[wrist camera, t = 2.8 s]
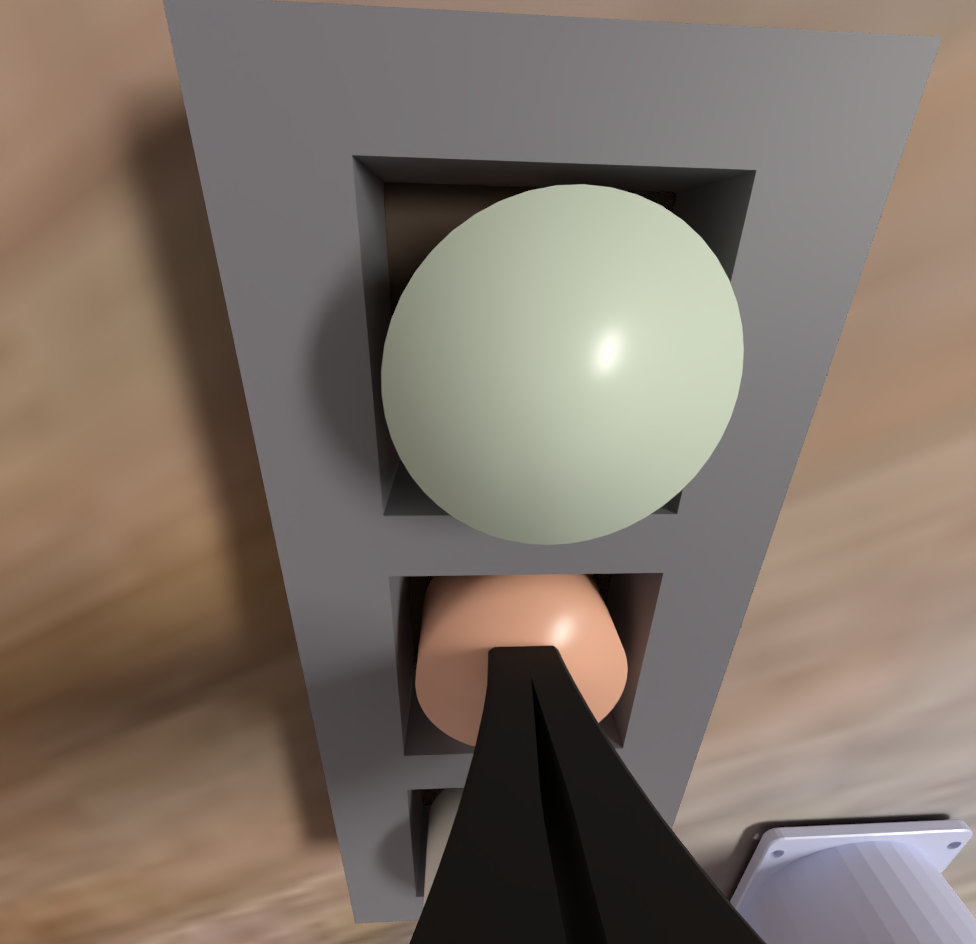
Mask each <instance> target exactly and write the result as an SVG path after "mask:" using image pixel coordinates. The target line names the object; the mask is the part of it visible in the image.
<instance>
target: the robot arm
mask: <svg viewBox="0 0 976 944" xmlns="http://www.w3.org/2000/svg"><path fill="white" fill-rule="evenodd" d="M972 834H973V833H972V831H971V829H970V828H969V827H968V826H967V825H966V824H965V823H964V822H963V821H961V820H933V821H911V822H889V823H867V824H845V825H823V826H801V827H778V828H773V829H770V830H768V831H766V832H765V833H764V834H763V836H762V838H761V840H760V842H759V844H758V846H757V848H756V850H755V852H754V854H753V856H752V858H751V860H750V862H749V864H748V866H747V868H746V870H745V872H744V874H743V876H742V878H741V880H740V882H739V884H738V886H737V889H736V891H735V893H734V895H733V897H732V899H731V901H730V902H729V901H728V899H727V898H726V897H725V896H724V894H723V893H722V892H721V891H720V890H719V888H718V887H717V886H716V885H715V884H714V882H713V881H712V880H711V879H710V877H709V876H708V875H707V874H706V873H705V871H704V870H703V869H702V868H701V867H700V865H699V864H698V863H697V861H696V860H695V859H694V858H693V856H692V855H691V854H690V853H689V851H688V850H687V849H686V847H685V846H684V845H683V844H682V842H681V841H680V840H679V839H678V837H677V836H676V835H675V833H674V832H673V831H672V829H671V828H670V827H669V825H668V824H667V823H666V821H665V820H664V819H663V817H662V816H661V815H660V813H659V812H658V811H657V809H656V808H655V806H654V805H653V804H652V802H651V801H650V800H649V798H648V797H647V795H646V794H645V792H644V791H643V790H642V788H641V787H640V785H639V784H638V782H637V781H636V780H635V778H634V777H633V775H632V774H631V772H630V771H629V769H628V768H627V767H626V765H625V764H624V762H623V761H622V759H621V758H620V756H619V755H618V753H617V751H616V750H615V748H614V747H613V745H612V744H611V742H610V740H609V739H608V737H607V736H606V734H605V733H604V731H603V729H602V728H601V726H600V725H599V723H598V721H597V720H596V718H595V716H594V715H593V713H592V711H591V710H590V708H589V706H588V705H587V703H586V701H585V699H584V698H583V696H582V694H581V692H580V691H579V689H578V687H577V685H576V684H575V682H574V680H573V678H572V676H571V674H570V672H569V670H568V669H567V667H566V665H565V663H564V661H563V659H562V656H561V654H560V652H559V650H558V649H557V648H556V647H555V646H513V647H493V648H492V649H490V650H489V651H488V673H487V689H486V696H485V702H484V708H483V713H482V718H481V722H480V727H479V732H478V736H477V741H476V745H475V749H474V753H473V757H472V761H471V765H470V768H469V772H468V775H467V779H466V782H465V786H464V789H463V793H462V796H461V800H460V803H459V807H458V810H457V813H456V816H455V819H454V823H453V826H452V829H451V832H450V835H449V838H448V841H447V844H446V847H445V850H444V852H443V855H442V858H441V861H440V864H439V867H438V870H437V873H436V875H435V878H434V881H433V884H432V886H431V889H430V892H429V894H428V897H427V900H426V902H425V905H424V907H423V910H422V913H421V915H420V918H419V921H418V923H417V926H416V929H415V931H414V934H413V936H412V939H411V941H410V944H976V919H975V918H974V916H973V915H972V914H971V912H970V911H969V910H968V909H967V907H966V906H965V905H964V903H963V902H962V901H961V899H960V898H959V897H958V895H957V894H956V893H955V892H954V890H953V889H952V888H951V886H950V885H949V884H948V882H947V881H946V880H945V879H944V877H943V876H942V875H941V873H942V872H943V870H944V869H945V868H946V867H947V866H948V864H949V863H950V862H951V861H952V860H953V859H954V857H955V856H956V855H957V854H958V853H959V851H960V850H961V849H962V848H963V847H964V846H965V844H966V843H967V842H968V841H969V840H970V838H971V837H972Z"/></svg>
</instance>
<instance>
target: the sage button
mask: <svg viewBox="0 0 976 944" xmlns="http://www.w3.org/2000/svg"><path fill="white" fill-rule="evenodd" d="M743 355H744V344H743V329H742V322H741V317H740V313H739V308H738V303H737V300H736V297H735V295H734V292H733V289H732V286H731V284H730V281H729V279H728V277H727V275H726V273H725V271H724V269H723V268H722V266H721V264H720V262H719V260H718V258H717V257H716V256H715V254H714V253H713V252H712V250H711V249H710V248H709V247H708V245H707V244H706V243H705V241H704V240H703V239H702V238H701V237H700V236H699V235H698V234H697V233H696V232H695V231H694V230H693V229H692V228H691V227H690V226H689V225H688V224H687V223H685V222H684V221H683V220H682V219H680V218H679V217H678V216H676V215H675V214H673V213H672V212H670V211H669V210H667V209H666V208H664V207H663V206H661V205H659V204H657V203H655V202H652V201H650V200H648V199H646V198H644V197H642V196H639V195H637V194H633V193H630V192H626V191H623V190H619V189H615V188H612V187H604V186H595V185H586V184H577V185H555V186H550V187H545V188H540V189H535V190H530V191H526V192H523V193H521V194H518V195H515V196H512V197H509V198H507V199H504V200H501V201H499V202H497V203H495V204H493V205H491V206H490V207H488V208H486V209H484V210H482V211H480V212H478V213H476V214H475V215H473V216H472V217H471V218H469V219H468V220H466V221H465V222H464V223H462V224H461V225H460V226H458V227H457V228H455V229H454V230H453V231H452V232H450V233H449V234H448V235H447V236H446V237H445V238H444V239H443V240H442V241H441V242H440V243H439V244H438V245H437V246H436V247H435V248H434V249H433V250H432V251H431V252H430V254H429V255H428V256H427V257H426V259H425V260H424V261H423V262H422V264H421V265H420V266H419V268H418V269H417V270H416V271H415V273H414V274H413V276H412V278H411V280H410V281H409V283H408V285H407V286H406V288H405V290H404V292H403V293H402V295H401V297H400V299H399V302H398V304H397V307H396V309H395V311H394V314H393V316H392V319H391V322H390V325H389V329H388V333H387V337H386V341H385V344H384V352H383V360H382V368H381V389H382V400H383V407H384V414H385V418H386V422H387V425H388V429H389V432H390V436H391V439H392V441H393V443H394V446H395V448H396V450H397V452H398V455H399V457H400V459H401V460H402V462H403V464H404V465H405V467H406V469H407V470H408V472H409V474H410V475H411V477H412V478H413V479H414V480H415V482H416V483H417V484H418V485H419V487H420V488H421V489H422V490H423V492H424V493H425V494H426V495H427V496H429V497H430V498H431V499H432V500H433V501H434V502H435V503H436V504H437V505H438V506H439V507H440V508H442V509H443V510H444V511H446V512H447V513H449V514H450V515H451V516H453V517H454V518H455V519H457V520H459V521H461V522H463V523H464V524H466V525H468V526H470V527H471V528H474V529H476V530H478V531H481V532H483V533H486V534H488V535H490V536H494V537H498V538H501V539H505V540H508V541H513V542H520V543H526V544H540V545H556V544H570V543H576V542H581V541H587V540H591V539H595V538H598V537H602V536H605V535H609V534H611V533H614V532H616V531H619V530H621V529H624V528H626V527H628V526H630V525H632V524H634V523H636V522H638V521H640V520H642V519H643V518H645V517H647V516H649V515H650V514H651V513H653V512H654V511H656V510H657V509H659V508H660V507H662V506H663V505H665V504H666V503H667V502H668V501H669V500H671V499H672V498H673V497H674V496H675V495H677V494H678V493H679V492H680V491H681V490H682V489H683V488H684V487H685V486H686V485H687V484H688V483H689V482H690V481H691V480H692V479H693V478H694V477H695V476H696V474H697V473H698V472H699V471H700V469H701V468H702V467H703V465H704V464H705V463H706V462H707V460H708V459H709V458H710V456H711V454H712V453H713V451H714V449H715V448H716V446H717V444H718V443H719V441H720V440H721V438H722V436H723V433H724V431H725V429H726V427H727V425H728V423H729V420H730V418H731V415H732V412H733V409H734V406H735V403H736V400H737V397H738V392H739V387H740V382H741V377H742V370H743Z"/></svg>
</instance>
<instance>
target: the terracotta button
mask: <svg viewBox="0 0 976 944" xmlns="http://www.w3.org/2000/svg"><path fill="white" fill-rule="evenodd" d="M513 646H555V647H556V648H557V649H558V650H559V652H560V654H561V656H562V659H563V661H564V663H565V665H566V667H567V669H568V670H569V672H570V674H571V676H572V678H573V680H574V682H575V684H576V685H577V687H578V689H579V691H580V692H581V694H582V696H583V698H584V699H585V701H586V703H587V705H588V706H589V708H590V710H591V711H592V713H593V715H594V716H595V718H596V720H597V721H598V723H599V722H600V721H601V720H602V719H603V718H605V717H606V716H607V714H608V713H609V712H610V711H611V710H612V709H613V708H614V706H615V705H616V703H617V702H618V700H619V699H620V696H621V694H622V692H623V690H624V687H625V684H626V680H627V672H628V668H627V659H626V655H625V651H624V649H623V646H622V644H621V641H620V639H619V636H618V634H617V631H616V629H615V626H614V624H613V621H612V619H611V616H610V614H609V612H608V609H607V607H606V604H605V602H604V599H603V597H602V594H601V592H600V589H599V587H598V584H597V582H596V580H595V578H594V575H593V574H538V575H463V576H433V578H432V579H431V581H430V583H429V585H428V588H427V590H426V593H425V598H424V604H423V613H422V622H421V631H420V641H419V650H418V659H417V668H416V679H415V688H416V694H417V698H418V701H419V704H420V706H421V708H422V709H423V711H424V713H425V715H426V716H427V717H428V718H429V720H430V721H431V722H432V723H433V724H434V725H435V726H436V727H437V728H439V729H440V730H441V731H443V732H444V733H446V734H447V735H449V736H450V737H452V738H454V739H456V740H458V741H460V742H463V743H465V744H468V745H471V746H474V747H475V745H476V741H477V736H478V732H479V727H480V722H481V718H482V713H483V708H484V702H485V696H486V689H487V673H488V651H489V650H490V649H492V648H493V647H513Z"/></svg>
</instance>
